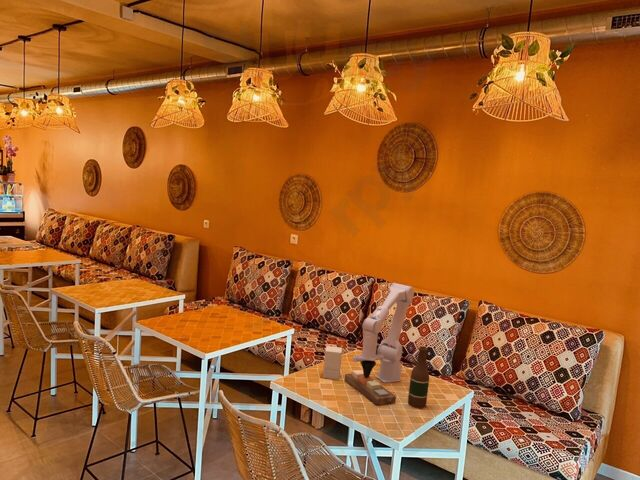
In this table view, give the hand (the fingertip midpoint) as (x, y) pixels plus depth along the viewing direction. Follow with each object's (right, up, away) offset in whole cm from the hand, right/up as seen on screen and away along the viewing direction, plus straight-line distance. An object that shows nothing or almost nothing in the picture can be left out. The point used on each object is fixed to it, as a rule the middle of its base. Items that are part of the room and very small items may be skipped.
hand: (366, 376), depth 208 cm
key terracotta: (0, -3, 0) cm, 3 cm away
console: (+1, -6, -2) cm, 6 cm away
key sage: (+2, -3, -5) cm, 7 cm away
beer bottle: (+20, -9, -10) cm, 24 cm away
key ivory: (-3, -2, +6) cm, 7 cm away
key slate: (+5, -6, -10) cm, 13 cm away
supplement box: (-15, -3, +11) cm, 19 cm away
